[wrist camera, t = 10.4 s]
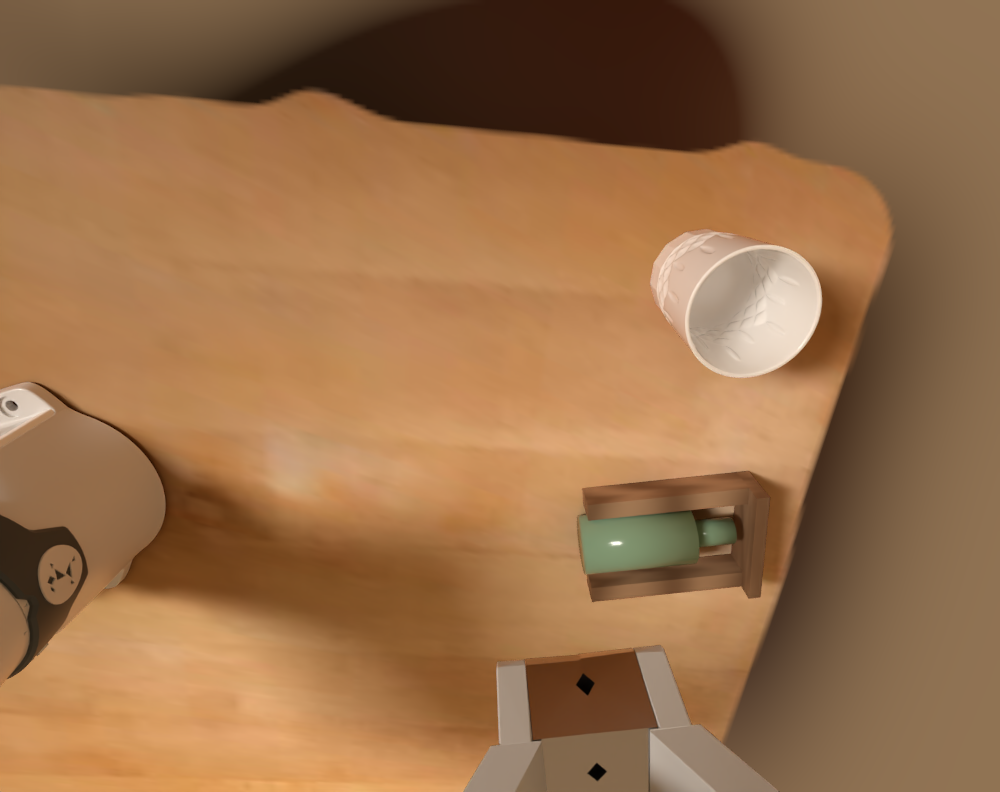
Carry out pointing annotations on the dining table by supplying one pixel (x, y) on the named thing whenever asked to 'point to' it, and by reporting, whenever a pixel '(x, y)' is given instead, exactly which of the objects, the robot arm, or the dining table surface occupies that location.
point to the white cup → (737, 300)
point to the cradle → (683, 496)
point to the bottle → (648, 540)
